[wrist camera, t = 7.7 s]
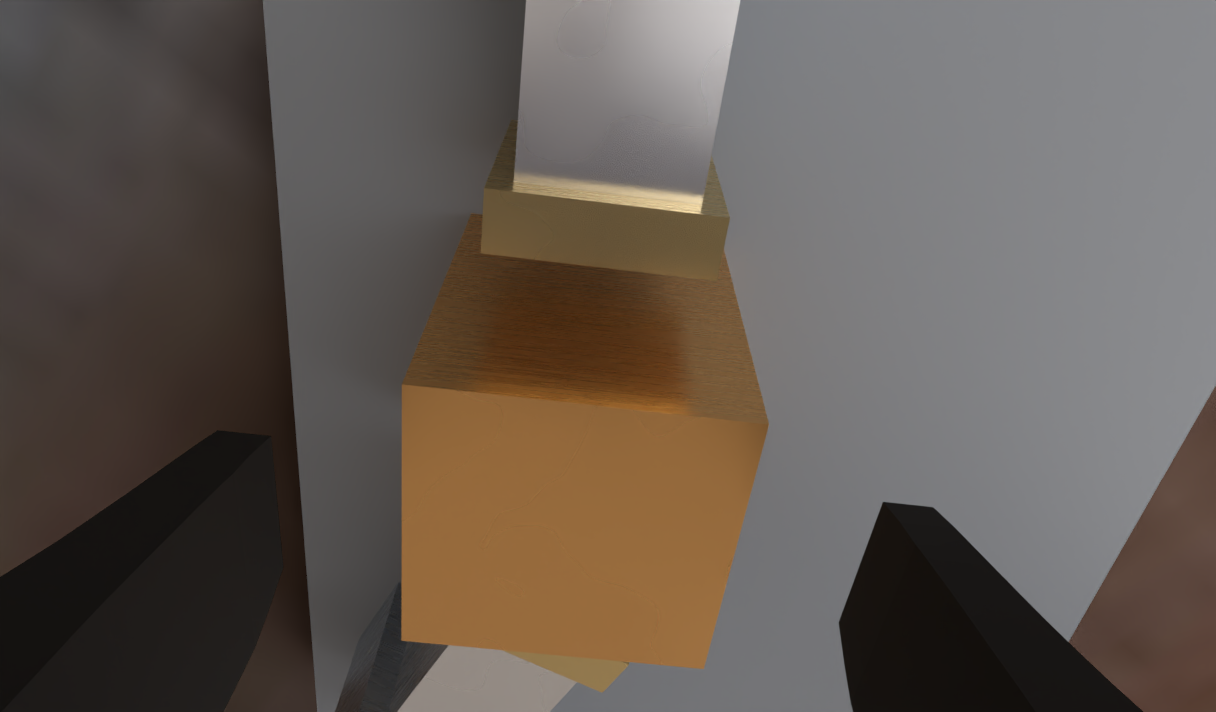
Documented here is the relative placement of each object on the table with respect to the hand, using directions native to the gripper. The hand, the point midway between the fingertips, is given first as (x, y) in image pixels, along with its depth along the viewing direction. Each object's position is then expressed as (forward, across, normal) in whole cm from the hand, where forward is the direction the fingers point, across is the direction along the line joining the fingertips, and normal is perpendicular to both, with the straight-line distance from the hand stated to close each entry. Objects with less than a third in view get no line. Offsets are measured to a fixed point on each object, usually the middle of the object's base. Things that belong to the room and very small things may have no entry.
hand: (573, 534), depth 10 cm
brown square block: (+5, 0, 0) cm, 5 cm away
